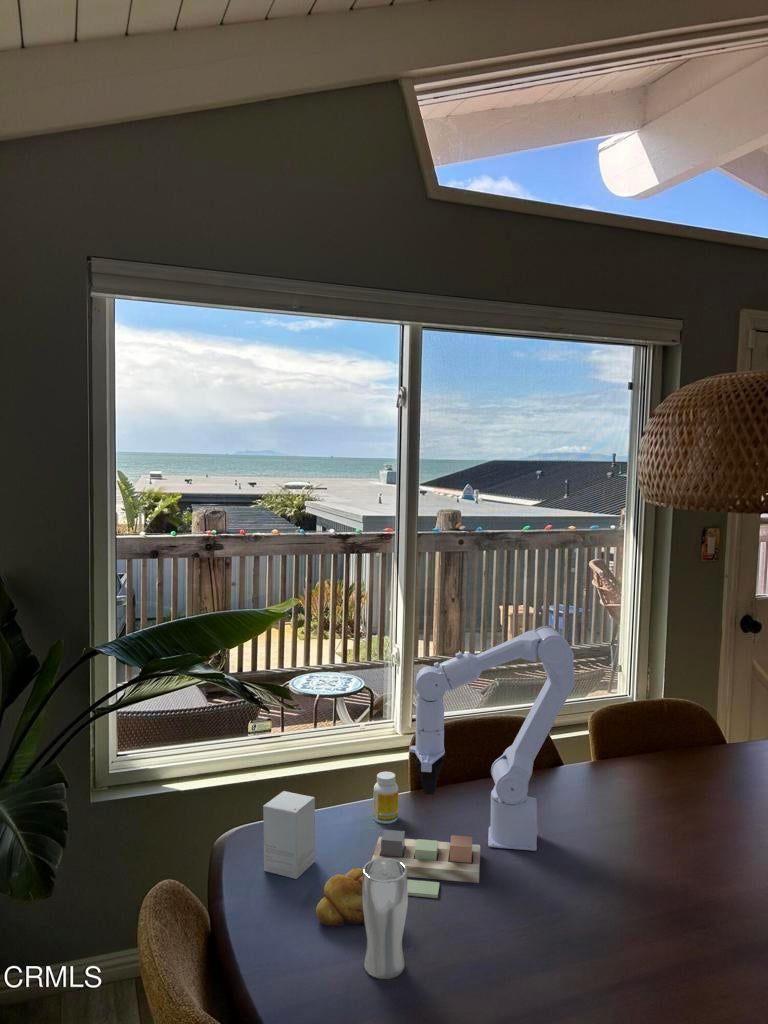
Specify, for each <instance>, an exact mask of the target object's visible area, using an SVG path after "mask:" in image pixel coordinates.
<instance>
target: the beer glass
mask: <svg viewBox="0 0 768 1024" xmlns="http://www.w3.org/2000/svg"><path fill="white" fill-rule="evenodd" d="M362 869H363V879H362V912H363V918H364V923H363V924H364V929H365V936H366V951H365V954H364V955H365V956H364V963H363V966H364V971H365V972H366V973H367V974H368V975H369V976H370V977H372V978H373V979H374V978H375V979H378V980H391V979H394V978H397V977H398V976H400V975H401V974H402V973H403V971H404V970H405V958H404V952H403V935H404V929H405V926H406V925H405V924H406V918H407V913H408V901H409V896H408V885H407V879H408V877H407V869H406V866H405V865H404V864H403V863H402V862H400V861H398V860H396V859H391V858H378V859H374V860H372V859H371V860H369V861H367V862H366V863H364V866H363V868H362Z"/></svg>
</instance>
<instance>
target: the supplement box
mask: <svg viewBox="0 0 768 1024" xmlns="http://www.w3.org/2000/svg"><path fill="white" fill-rule="evenodd" d="M315 801H316V797H314V796H311V795H304V794H300V793H296V792H295V793H294V792H290V791H286V790H283V791H281V792H280V793H279V794H277V795H276V796H274V797H273V798H272V799H270V801H268V802H266V803H265V804H264V805H262V809H263V810H262V811H263V812H262V814H263V818H262V819H263V864H264V865H263V871H264V872H267V873H271V874H276V875H279V876H282V877H286V878H287V877H288V878H290V879H295V880H297V879H298V878H300V877H301V876H302V875H303V873H305V871H307V870H308V869H309V868H310V867H312V865H313V864H314V863H315V862H316V802H315Z"/></svg>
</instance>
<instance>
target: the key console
mask: <svg viewBox="0 0 768 1024" xmlns="http://www.w3.org/2000/svg"><path fill="white" fill-rule="evenodd" d="M381 839H382V836H378V839H377V843H376V845H375V848H374V851H373V855H372V857H371V860H374V859H378V858H391V859H396V860H398V861H400V862H402V863H403V864H404V865H405V866H406V869H407V878H418V879H420V878H421V879H430V880H441V881H453V882H462V883H464V882H465V883H473V884H479V883H480V867H481V866H480V865H481V845H480V844H475V843H474V844H473V843H472V860H471V863H465V862H454V861H450V842H449V841H438V859H437V861H432V860H421V859H415V848H416V844H417V839H412V838H405V847H404V851H403V855H402V857H396V856H384V855H381Z"/></svg>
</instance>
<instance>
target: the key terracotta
mask: <svg viewBox="0 0 768 1024" xmlns="http://www.w3.org/2000/svg"><path fill="white" fill-rule="evenodd" d="M472 844H473V836H466V835H465V836H464V835H454V834H452V835H451V836H450V860H449V862H455V863H467V864H472V861H471V860H472Z"/></svg>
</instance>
